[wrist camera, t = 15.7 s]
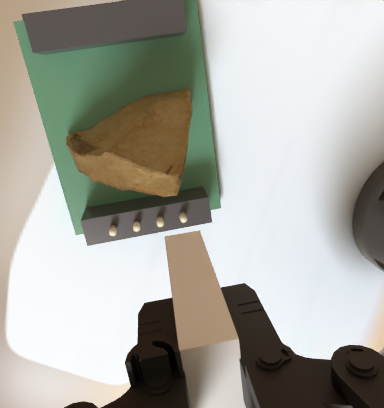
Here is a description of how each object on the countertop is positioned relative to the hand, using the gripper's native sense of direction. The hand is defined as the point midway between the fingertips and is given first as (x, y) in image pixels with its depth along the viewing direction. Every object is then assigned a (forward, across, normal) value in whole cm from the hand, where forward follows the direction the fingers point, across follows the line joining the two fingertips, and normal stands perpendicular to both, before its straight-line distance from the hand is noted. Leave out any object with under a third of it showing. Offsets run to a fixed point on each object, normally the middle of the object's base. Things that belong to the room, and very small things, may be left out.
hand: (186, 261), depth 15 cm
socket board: (+19, +2, -4) cm, 19 cm away
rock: (+18, +2, -4) cm, 18 cm away
